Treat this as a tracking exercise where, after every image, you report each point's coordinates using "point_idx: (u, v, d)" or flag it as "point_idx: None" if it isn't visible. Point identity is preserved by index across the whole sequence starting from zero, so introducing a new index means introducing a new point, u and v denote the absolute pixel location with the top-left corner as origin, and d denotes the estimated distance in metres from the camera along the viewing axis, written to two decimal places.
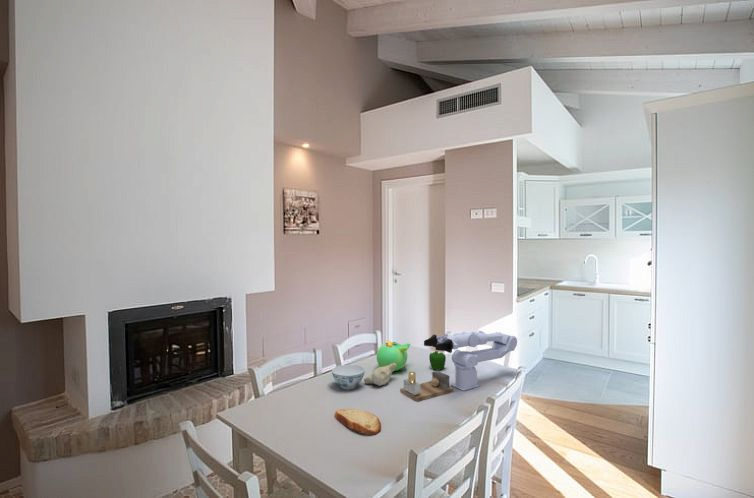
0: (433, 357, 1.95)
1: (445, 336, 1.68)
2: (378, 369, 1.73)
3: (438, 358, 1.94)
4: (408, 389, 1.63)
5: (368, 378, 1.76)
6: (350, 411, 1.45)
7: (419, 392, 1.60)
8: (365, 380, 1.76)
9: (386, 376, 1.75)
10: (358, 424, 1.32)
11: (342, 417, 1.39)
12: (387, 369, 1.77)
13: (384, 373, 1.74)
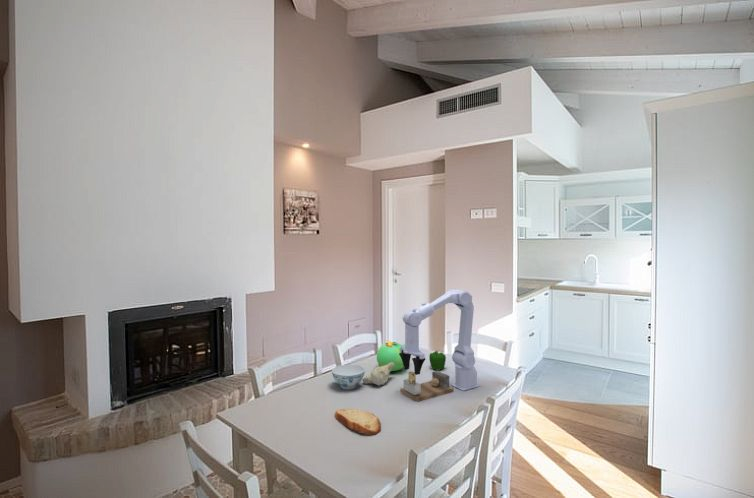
0: (433, 357, 1.95)
1: None
2: (377, 369, 1.73)
3: (438, 358, 1.94)
4: (408, 389, 1.63)
5: (367, 378, 1.76)
6: (350, 411, 1.45)
7: (419, 392, 1.60)
8: (364, 380, 1.77)
9: (385, 376, 1.75)
10: (358, 424, 1.32)
11: (342, 417, 1.39)
12: (386, 369, 1.78)
13: (383, 373, 1.75)
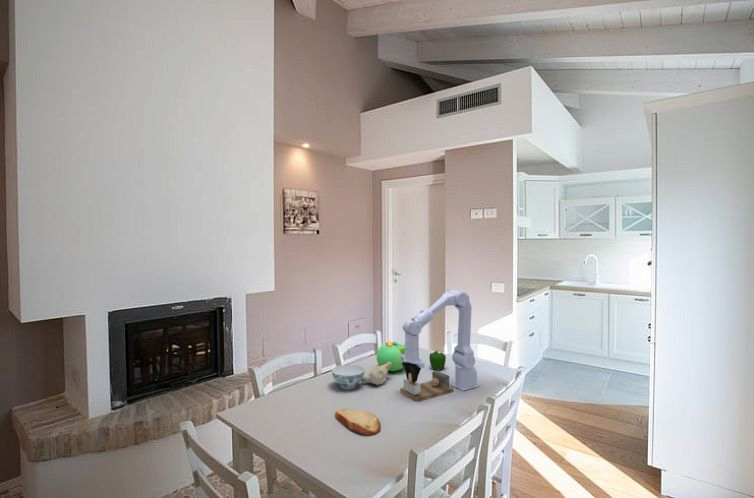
0: (433, 357, 1.95)
1: None
2: (376, 368, 1.74)
3: (438, 358, 1.94)
4: (408, 389, 1.63)
5: (365, 378, 1.76)
6: (350, 411, 1.45)
7: (419, 392, 1.60)
8: (362, 380, 1.77)
9: (383, 375, 1.76)
10: (357, 424, 1.32)
11: (342, 417, 1.39)
12: (384, 368, 1.78)
13: (382, 372, 1.75)
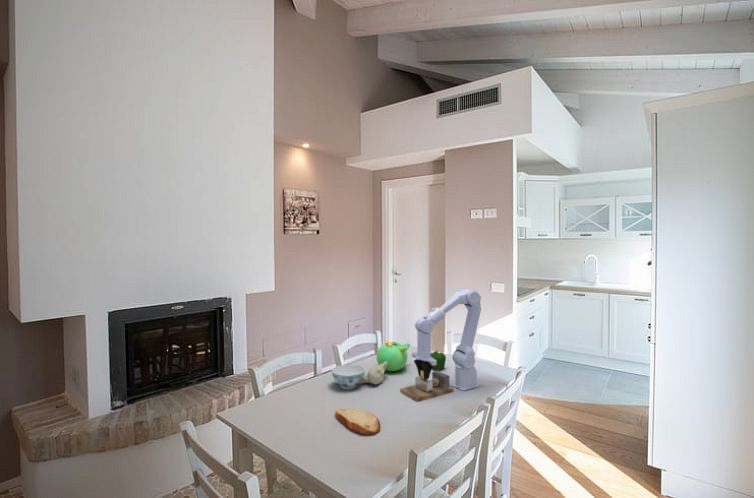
0: (433, 357, 1.95)
1: None
2: (374, 368, 1.74)
3: (438, 358, 1.94)
4: (420, 386, 1.66)
5: (363, 378, 1.76)
6: (350, 411, 1.45)
7: (431, 389, 1.64)
8: None
9: (381, 374, 1.77)
10: (357, 424, 1.32)
11: (342, 417, 1.39)
12: (381, 368, 1.79)
13: (380, 372, 1.76)
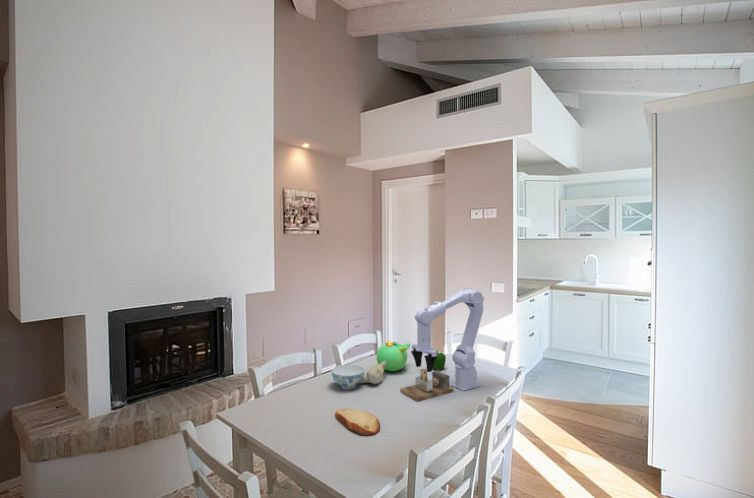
0: None
1: (418, 350, 1.65)
2: (374, 368, 1.74)
3: (438, 358, 1.94)
4: (420, 386, 1.66)
5: (363, 378, 1.76)
6: (350, 411, 1.45)
7: (431, 389, 1.64)
8: None
9: (381, 374, 1.77)
10: (357, 424, 1.32)
11: (341, 417, 1.39)
12: (381, 367, 1.80)
13: (379, 371, 1.76)
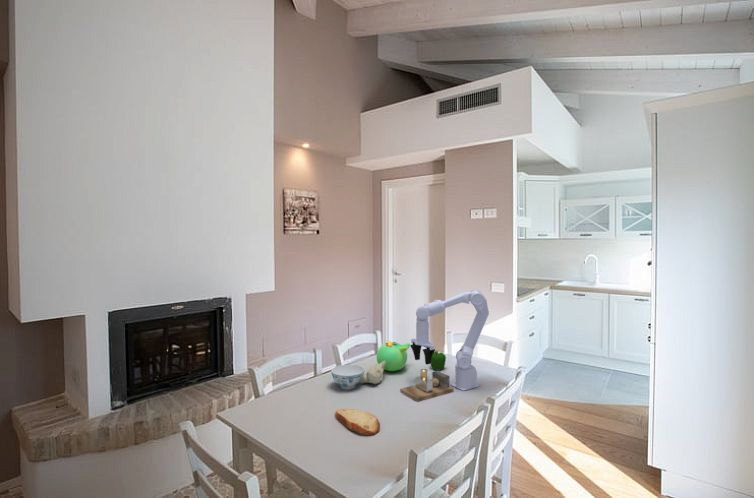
0: (433, 357, 1.95)
1: (417, 344, 1.75)
2: (374, 368, 1.75)
3: (438, 358, 1.94)
4: (420, 386, 1.66)
5: (363, 378, 1.76)
6: (350, 411, 1.45)
7: (431, 389, 1.64)
8: None
9: (381, 374, 1.77)
10: (356, 424, 1.32)
11: (341, 417, 1.39)
12: (380, 367, 1.80)
13: (379, 371, 1.76)
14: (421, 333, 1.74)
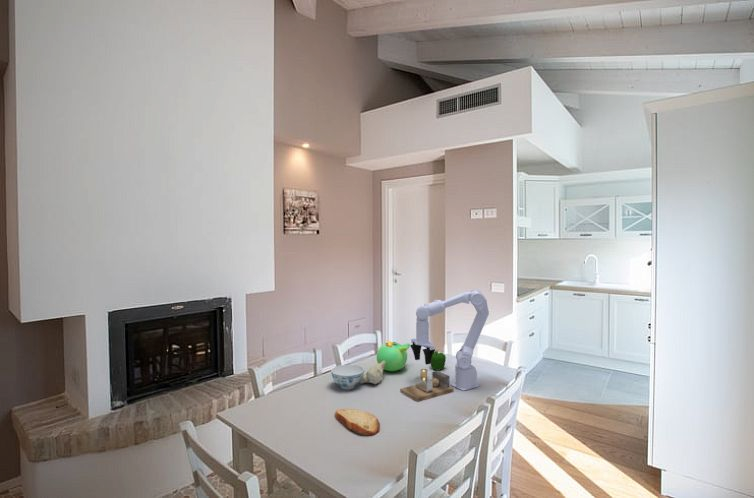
0: (433, 357, 1.95)
1: (417, 344, 1.75)
2: (374, 368, 1.75)
3: (438, 358, 1.94)
4: (420, 386, 1.66)
5: (363, 378, 1.76)
6: (350, 411, 1.45)
7: (431, 389, 1.64)
8: None
9: (380, 374, 1.77)
10: (356, 424, 1.32)
11: (341, 417, 1.39)
12: (380, 367, 1.80)
13: (379, 371, 1.77)
14: (421, 333, 1.74)
